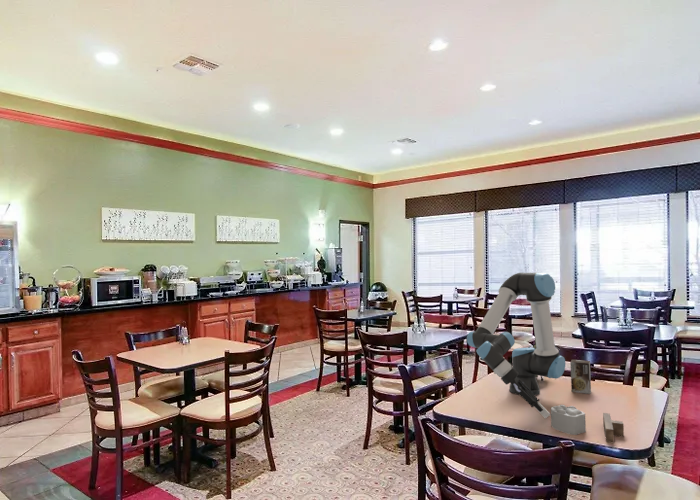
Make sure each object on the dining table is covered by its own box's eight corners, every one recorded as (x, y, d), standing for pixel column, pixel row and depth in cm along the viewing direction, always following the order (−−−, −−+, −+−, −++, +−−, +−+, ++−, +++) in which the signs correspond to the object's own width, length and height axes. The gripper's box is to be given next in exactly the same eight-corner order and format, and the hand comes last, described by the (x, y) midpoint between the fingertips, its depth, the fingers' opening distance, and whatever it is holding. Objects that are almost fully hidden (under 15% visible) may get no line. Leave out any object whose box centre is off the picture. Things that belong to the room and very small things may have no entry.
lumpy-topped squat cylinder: (572, 435, 178) (572, 413, 179) (544, 425, 190) (544, 404, 190) (589, 430, 183) (588, 409, 183) (560, 421, 195) (560, 401, 195)
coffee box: (591, 391, 239) (590, 360, 239) (590, 394, 233) (589, 363, 234) (572, 388, 243) (571, 359, 244) (570, 391, 238) (570, 361, 238)
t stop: (606, 441, 172) (605, 428, 172) (603, 424, 190) (603, 412, 190) (625, 444, 169) (625, 431, 169) (621, 427, 187) (620, 415, 187)
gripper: (502, 374, 205) (542, 416, 197) (497, 381, 193) (539, 426, 185) (514, 363, 203) (555, 406, 195) (510, 370, 191) (553, 415, 183)
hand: (547, 416), depth 190 cm, fingers closed
